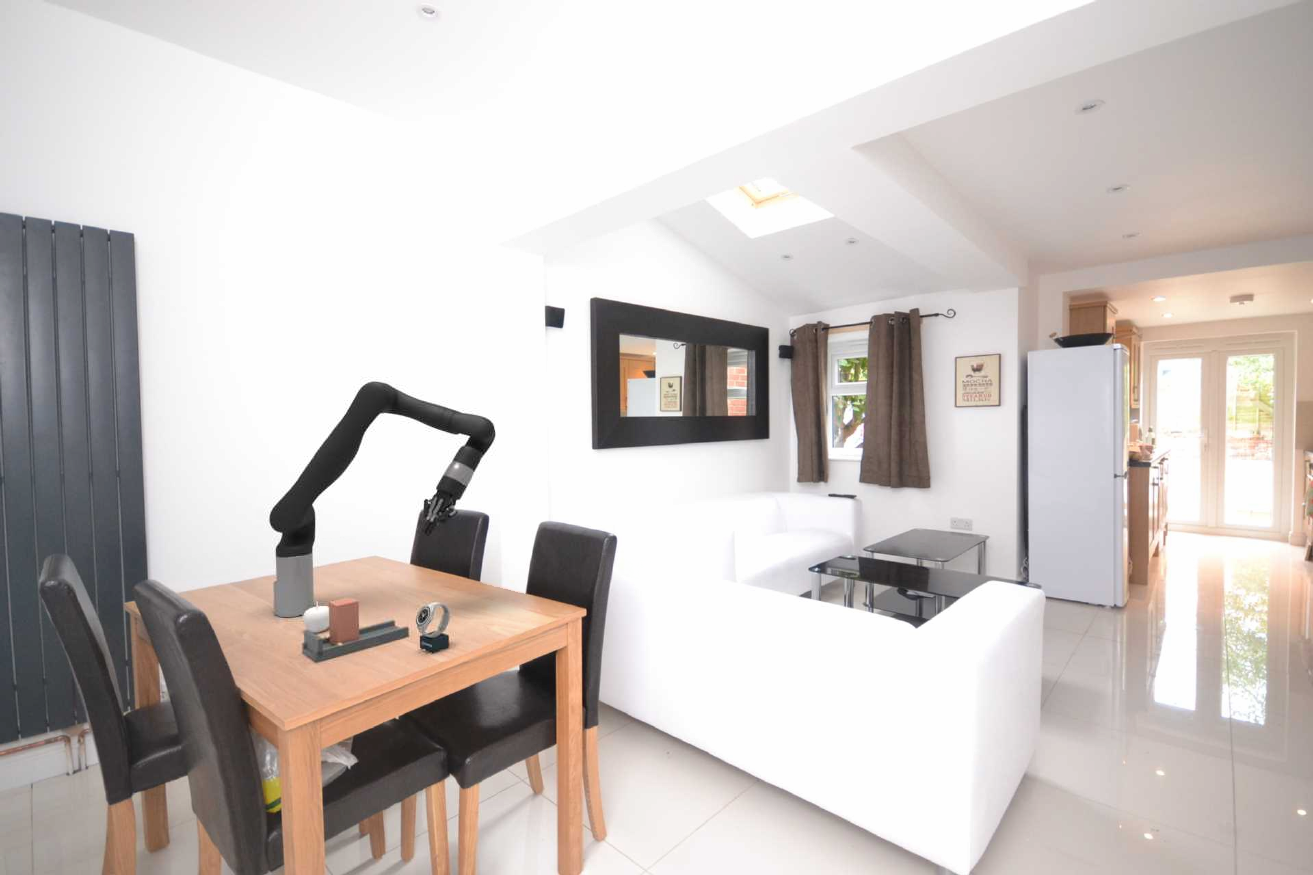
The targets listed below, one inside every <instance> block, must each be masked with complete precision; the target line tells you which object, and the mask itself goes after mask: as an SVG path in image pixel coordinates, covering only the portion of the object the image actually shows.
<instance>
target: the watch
mask: <svg viewBox="0 0 1313 875" xmlns="http://www.w3.org/2000/svg"><path fill="white" fill-rule="evenodd" d="M437 606H441V608H442V609H443V612H442V614H443V615H442V616H441V618H440V622H439V625H438V626H437V630H433V631H430V632H426V630H427V629H428V627H429V625H430V624H431V623H432V622H433V621H434V617H435V610H436V609H437ZM450 613H451V611H450V609H449V606H447V605H446V604H444V603H440V602H438V601H435V602H434V601H433V602H429V603H428V604H426V605H424V606H423V607H421V608H420V609H419V611H418V612H417V615H416V617H415V624H416V627H417V630H418V632H419V633H420V634H421V635H420V636H419V649H420V648H421V649H420V650H423V649H425V650H426V652H428V653H431V652H432V654H435V653H434V652H436V653H439V652H441V651H440V650H442V649H444V650H446V648H447V649H449V648H450V635H449V634H446V633H444V632H445V631H446V629H447V627H448V625H449V622H450V618H451V614H450ZM448 647H449V648H448ZM425 650H424V651H425ZM438 651H439V652H438ZM442 651H443V650H442Z"/></svg>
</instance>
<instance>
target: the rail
mask: <svg viewBox="0 0 1313 875" xmlns="http://www.w3.org/2000/svg"><path fill="white" fill-rule="evenodd" d="M395 622H396V620H393V619H391V620H387V621H382V622H379V623H376V624H372V625H369V626H365V627H359V639H357V640H354V641H350V642H346V643H343V644H342V643H337V645H333V644H332V643H330V634H327V635H324V637H321V636H319V635H317V633H313V632H311V631H309V630H307V629H306V630H303V641H304V642H301V653H302V654H303V655H304V656H305V657H307V658H309V659H310V660H312V662H314V663H320V662H323V661H328V660H330V659H334V658H337V657H342V656H345V655H348V654H353V653H356V652H358V651H363V650H366V649H369V648H372V647H373V648H374V647H378V646H380V645H383V644H387V643H390V642H395V641H397V640H401V639H405V638H409V637H410V634H409V633H410V630H409V628H410V627H409V626H408V625H407V626H402V627H399V626H397V625H396V623H395Z"/></svg>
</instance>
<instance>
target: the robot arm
mask: <svg viewBox="0 0 1313 875" xmlns="http://www.w3.org/2000/svg"><path fill="white" fill-rule="evenodd" d="M380 414H391V415H398V416H402V417H405V418H410V419H412V420H415V421H417V422H419V423H421V424H423V425H425V426H428V427H430V428H433V429H436V430H438V431H442V432H444V433H447V434H451V435H463V436H468V439H467V440H466V442H465V444H464V445H461V446H460V447H459V449H458V450H457V452H456V454H455V455H454V457H453V458H452V460H451V462H450V464H448V466H447V468H446V469H445V471H444V472H443V474H442V477H441V478H440V480H439V482H438V483H437V484H436V486H435V490H436V493H434V494H433V496H432V497H431V498H430V499H427V498H426V499H424V500H423V517H424V518H425V520H426V521H425V523H424V525H423V527H422V528H421V530H420V533H421V535H423V536H425V537H430V536H431V535H432V533H433V531H434V530H435V528H436V527H437V526H438V525H444V524H446V523H447V522H448V521H450V520H451V519H452V518H453V517H455V516H456V515H458V510H456V508H455V506H456V505H457V501H460V500H461V499H462V497H463V496H464V494H465V491H466V490H467V488H468V486H469V484H470V482H471V481H472V478H473V476H474V474H475V472H476V470H477V468H478V467H479V464H480V463H481V460H482V458H483V457H484V456H485V454H487V452H488V451H489V449H490V448H491V447H492V444H493V443H494V441H495V439H496V429H495V425H494V422H492V420H490V419H489V418H487V417H485V416H483V415H478V414H473V413H467V412H461V411H458V410H455V409H452V408H449V407H447V406H444V405H440V404H436V403H432V402H429V401H425V400H422V399H419V398H417V397H414V396H411V395H409V394H407V393H405V392H403V391H401V390H399V389H397V388H396V387H393V386H392V385H391V384H389V383H386V382H381V381H370V382H367V383H365V384H364V385H362V386H361V387H360V388H359V390H358V392H357V393H356V394H355V397H354V399H353V400H352V402H351V404H350V405H349V407H348V409H347V410H346V412H345V414H344V415H343V417H342V418H341V419H340V421H338V423H337V424H336V426H335V427H334V428H333V429H332V431H331V432H330V434H329V435H328V436H327V437H326V439H325V440H324V441H323V442H322V444H321V445H320V446H319V448H318V449H317V451H316V452H315V453H314V455H313V456H312V458H311V459H310V461H309V462H308V464H307V465H306V466H305V468H304V469H303V471H302V472H301V473H300V475H299V477H298V478H297V480H296V481H295V482H294V484H293V485H292V486H291V487H290V489H289V490H288V491H287V492H286V493H285V494H284V495H283V496H282V497H281V498H280V499H279V500H278V502H276V504H275V505H274V506H273V507H272V508H271V511H270V514H269V518H268V521H269V525H270V527H271V528H272V529H273V531H275V532H276V533H279V534H281V538H280V541H279V542H278V543H277V545H276V546H275V573H276V574H275V575H276V578H275V580H276V581H274V582H273V610H274V612H273V614H274V615H276V616H278V617H280V618H292V617H293V618H294V617H300V616H299V615H301V616H303V615H304V613H305V611H307V610H308V609H310V608H313V607H315V606H314V605H315V603H314V602H315V601H314V600H315V595H314V594H315V592H314V591H315V590H314V587H315V586H314V564H313V563H314V556H313V555H314V554H313V550H314V549H313V548H314V543H315V540H316V511H315V508H314V506H313V505H314V503H315V501H316V500H317V499H318V498H319V496H321V495H322V493H323V492H325V491H327V489H328V488H329V487H330V486H332V485H333V484H334V483H335V482H336V481H337V480H338V479H339V478H340V477H341V476H342V475H343V474H344V473H345V471H346V470H347V469H348V468H349V467H350V465H351V463H352V462H353V461H354V460H355V458H356V456H357V454H358V452H359V450H360V446H361V444H362V442H363V439H364V436H365V434H366V432H367V430H368V429H369V427H370V426H371V425H372V424H373V422H374V421H375V420H376V419H377V417H378V416H380Z"/></svg>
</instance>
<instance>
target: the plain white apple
mask: <svg viewBox="0 0 1313 875" xmlns="http://www.w3.org/2000/svg"><path fill="white" fill-rule="evenodd" d="M315 602H316V606H314V607H313V608H310V609H308V610H307V611H305V613H304V615H302V623H303V625H304V627H305V628H306V630H309V631H311V632H313V633H314V634H317V633H322V632H324V631H326V630H327V629H328V628H329V606H327V605H319V601H318V600H317V601H315Z"/></svg>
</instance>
